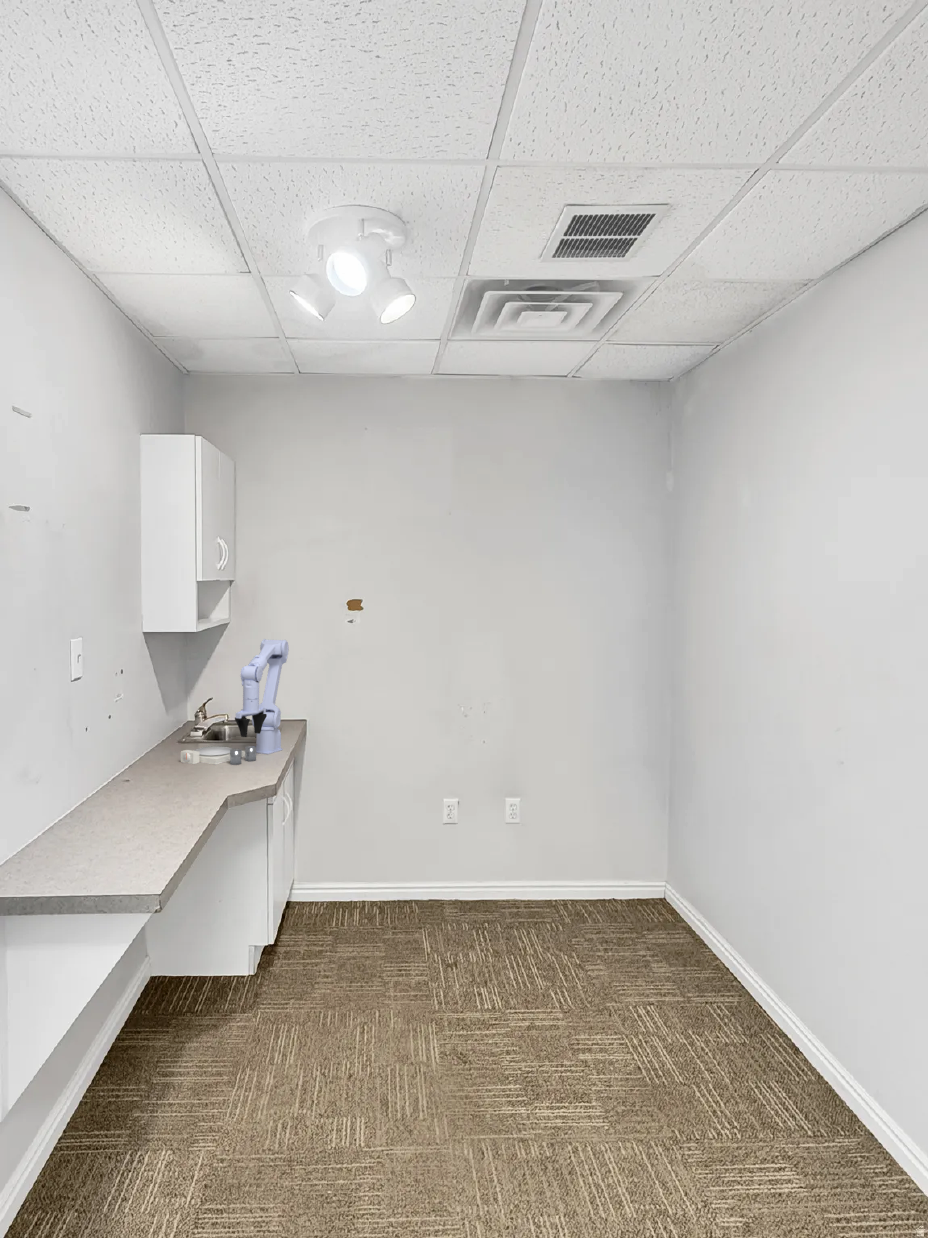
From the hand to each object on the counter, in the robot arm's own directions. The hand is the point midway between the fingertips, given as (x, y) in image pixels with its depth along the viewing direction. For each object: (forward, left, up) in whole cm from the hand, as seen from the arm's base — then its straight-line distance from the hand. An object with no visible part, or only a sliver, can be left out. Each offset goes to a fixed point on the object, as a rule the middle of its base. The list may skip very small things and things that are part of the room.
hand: (250, 735), depth 308 cm
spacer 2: (0, 0, -9) cm, 9 cm away
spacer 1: (+7, -1, -9) cm, 12 cm away
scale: (+6, -14, -9) cm, 18 cm away
